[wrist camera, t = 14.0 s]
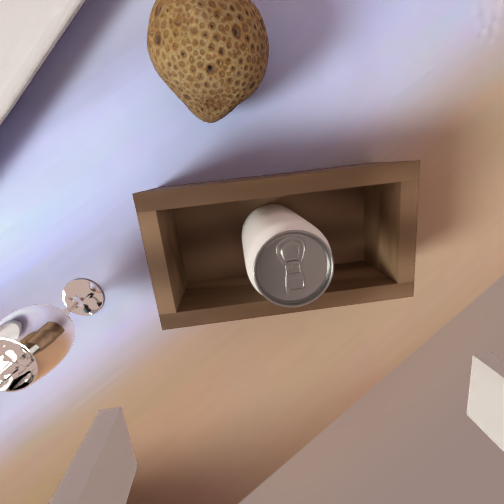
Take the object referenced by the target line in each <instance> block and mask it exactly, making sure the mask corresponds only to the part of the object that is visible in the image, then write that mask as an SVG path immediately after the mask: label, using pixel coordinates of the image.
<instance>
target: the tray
mask: <svg viewBox="0 0 504 504" xmlns="http://www.w3.org/2000/svg"><path fill="white" fill-rule="evenodd" d="M85 1H86V0H0V125H1V124H2V122H3V121H4V119H5V118H6V117H7V115H8V114H9V112H10V111H11V109H12V108H13V107H14V105H15V104H16V102H17V101H18V99H19V98H20V97H21V95H22V94H23V92H24V91H25V89H26V88H27V86H28V85H29V83H30V82H31V80H32V79H33V77H34V76H35V74H36V73H37V71H38V70H39V68H40V67H41V65H42V64H43V62H44V61H45V59H46V58H47V56H48V55H49V54H50V52H51V51H52V49H53V48H54V46H55V45H56V43H57V42H58V40H59V39H60V37H61V36H62V34H63V33H64V31H65V30H66V28H67V27H68V26H69V24H70V23H71V21H72V20H73V18H74V17H75V15H76V14H77V12H78V11H79V9H80V8H81V6H82V5H83V3H84V2H85Z"/></svg>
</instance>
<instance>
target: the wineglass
mask: <svg viewBox="0 0 504 504" xmlns="http://www.w3.org/2000/svg"><path fill="white" fill-rule="evenodd" d="M62 299H63V302H64V304H65V306H66V307H67V309H65V310H63V311H62V310H61V309H59V308H57V307H55V306H51V305H46V304H34V305H28V306H25V307H22V308H20V309H18V310H15V311H13V312H12V313H10V314H8V315H7V316H5V317H4V318H3V319H1V320H0V391H4V392H15V391H19V390H23V389H25V388H27V387H28V386H30V385H32V384H33V383H35V382H36V381H38V380H39V379H41V378H42V377H44V376H45V375H46V374H48V373H49V372H50V371H52V370H53V369H54V368H55V367H56V366H57V365H58V364H60V363H61V362H62V361H63V359H64V358H65V357H66V356H67V354H68V353H69V351H70V350H71V348H72V346H73V343H74V340H75V327H74V324H73V322H72V320H71V318H70V317H69V316H68V314H69V313H70V311H71V312H73V313H75V314H78V315H83V316H87V315H92V314H94V313H96V312H97V311H99V310H100V308H101V307H102V305H103V300H104V298H103V294H102V291H101V290H100V288H99V287H98V286H97V285H96V284H95V283H93V282H91V281H89V280H85V279H76V280H73V281H71V282H69V283H68V284H67V285H66V286H65V287H64V289H63V292H62Z"/></svg>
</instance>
